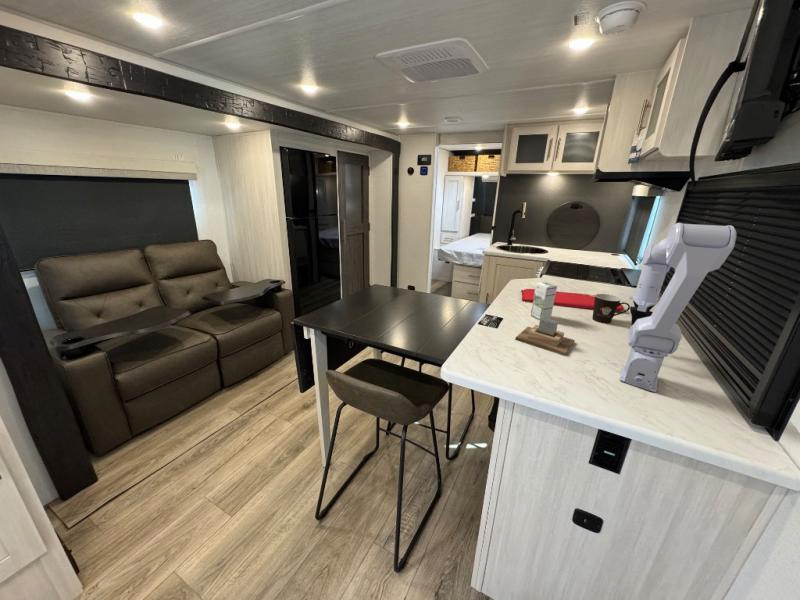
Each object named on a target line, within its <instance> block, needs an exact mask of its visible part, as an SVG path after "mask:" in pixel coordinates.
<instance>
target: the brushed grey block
mask: <svg viewBox="0 0 800 600" xmlns="http://www.w3.org/2000/svg"><path fill="white" fill-rule="evenodd" d="M558 325H559V320H556V319H552V318H551V319H549V318H545V317H542V318H541V319H540V320H539V324H538V326H539V328H538V333H541V334H545V335H548V336H552V337H555V335H556V331H558V330H557V329H558Z"/></svg>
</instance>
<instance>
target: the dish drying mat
mask: <svg viewBox="0 0 800 600" xmlns="http://www.w3.org/2000/svg"><path fill="white" fill-rule="evenodd" d="M521 292H522V294H521V301H522V302H524V301H525V302H524V303H531V304H533V299H534V293H535V288H525V289H521V291H520V293H521ZM594 300H595V294H589V293H588V294H586V293H577V292H568V291H567V292H565V291H558V290H556V295H555V299H554V304H553V306H559V307H567V308H568V307H570V308H580V309H589V310H590V309H591V310H593V309H594ZM617 311H618V312H624V311H625V307H624V306H623V304H621V305H620V306H618V307H617V309H616V312H617Z"/></svg>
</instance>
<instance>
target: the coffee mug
mask: <svg viewBox="0 0 800 600" xmlns="http://www.w3.org/2000/svg"><path fill="white" fill-rule="evenodd" d="M594 295H595V300H594V309H592V312H593V313H592V320H593V321H594V322H597V323H600V324H605V325H606V324H611V322H612V321H613V318H614V317H616V316H618V315H619V316H620V315H622V314H625V313H626V312H628V311H629V310H630V307H631V305H630V304H629V303H627V302H625V301H624V302H621V297H618V296H616V295H613V294H608V293H596V294H594ZM620 305H627V309H626V310H625V309H624V310H623V311H620V312H617V311H616V309H617V307H618V306H620ZM616 312H617V313H616Z"/></svg>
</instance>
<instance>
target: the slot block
mask: <svg viewBox="0 0 800 600" xmlns="http://www.w3.org/2000/svg"><path fill="white" fill-rule="evenodd" d="M538 328H539V324H538V325H537V324H535V325H534V326H533V327H530V326H527V327H526V328H524V329H523V330H522V331H521V332H520V333H519V334H518V335H517V336H515V341H517V342H521V343H524V344H527V345H530V346H533V347H536V348H539V349H543V350H546V351H549V352H552V353H555V354H558V355H561V356H564V357H565V356H566V355H567V353H569V350H571V348H572V346H574V344H573V343H575V341H576V340H575V339H572V338H570V337H565V336H564V335H565V332H562V331H560V330H556V335H555V337H552V336H548V335H545V334H541V333H538Z"/></svg>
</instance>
